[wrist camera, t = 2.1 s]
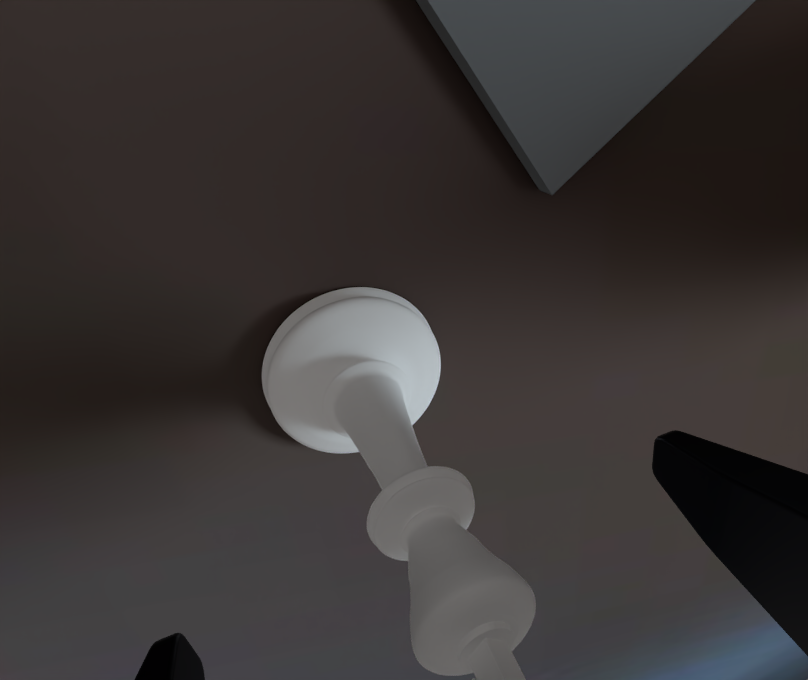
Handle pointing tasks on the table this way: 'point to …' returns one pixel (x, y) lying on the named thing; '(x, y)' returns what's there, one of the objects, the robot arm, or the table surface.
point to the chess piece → (399, 470)
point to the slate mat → (572, 66)
